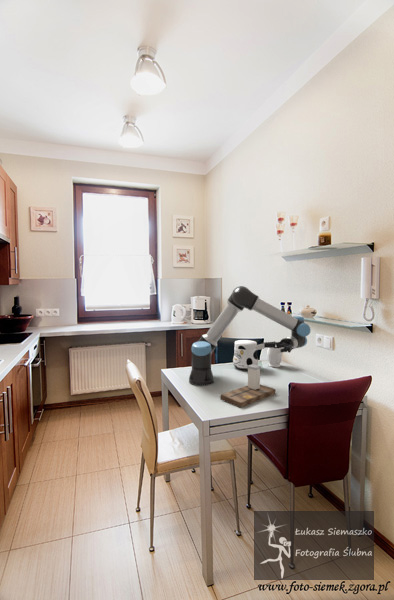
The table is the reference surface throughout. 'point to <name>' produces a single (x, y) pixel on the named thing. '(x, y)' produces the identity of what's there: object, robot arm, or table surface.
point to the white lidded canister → (254, 376)
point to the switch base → (247, 395)
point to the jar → (274, 357)
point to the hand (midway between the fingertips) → (266, 349)
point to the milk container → (245, 354)
